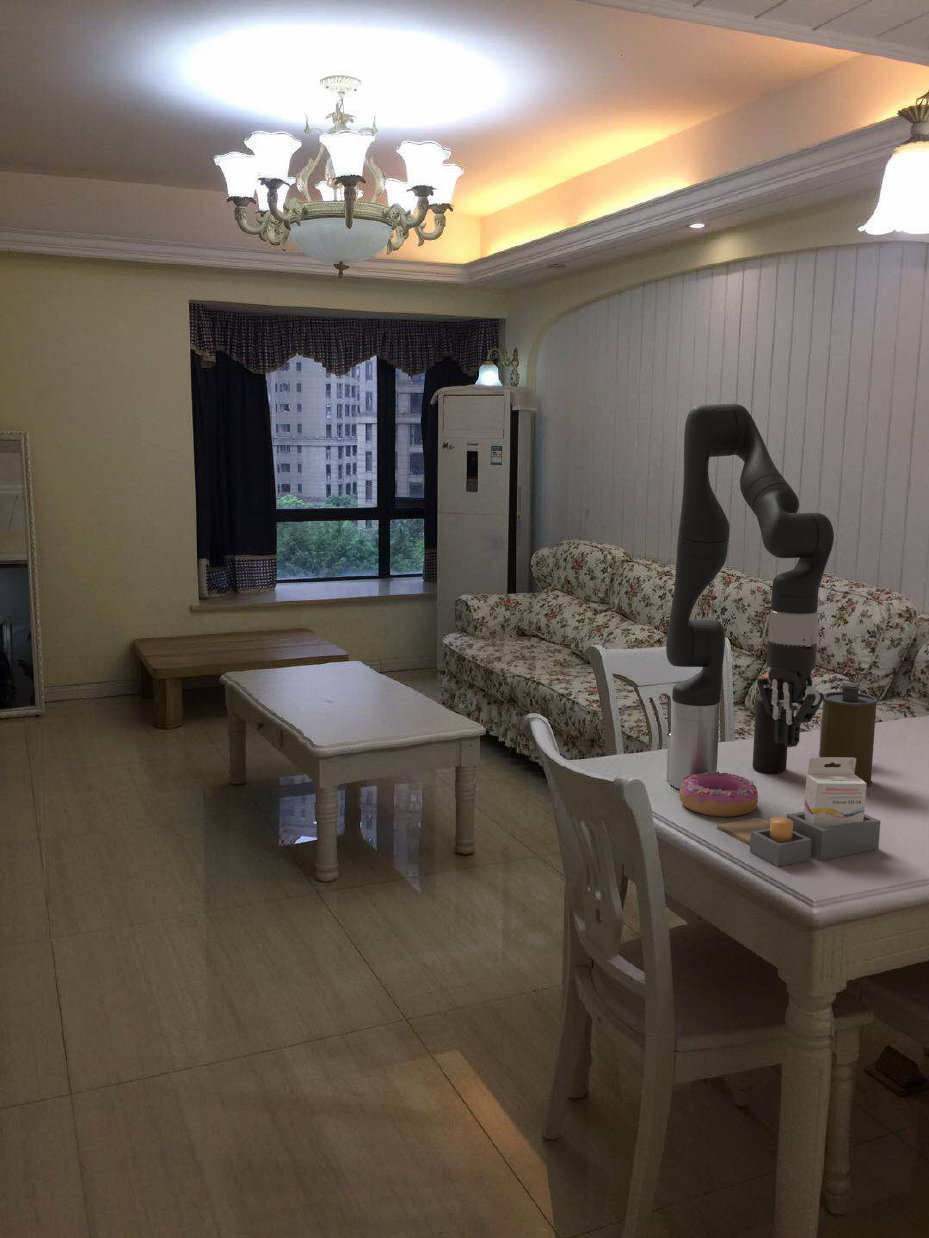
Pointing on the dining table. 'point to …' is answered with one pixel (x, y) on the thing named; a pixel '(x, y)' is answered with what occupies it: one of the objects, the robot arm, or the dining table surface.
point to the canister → (849, 728)
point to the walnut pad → (744, 828)
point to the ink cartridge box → (833, 793)
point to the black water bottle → (767, 742)
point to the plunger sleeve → (780, 848)
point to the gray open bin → (838, 836)
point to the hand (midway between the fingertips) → (786, 743)
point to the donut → (718, 794)
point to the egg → (781, 829)
